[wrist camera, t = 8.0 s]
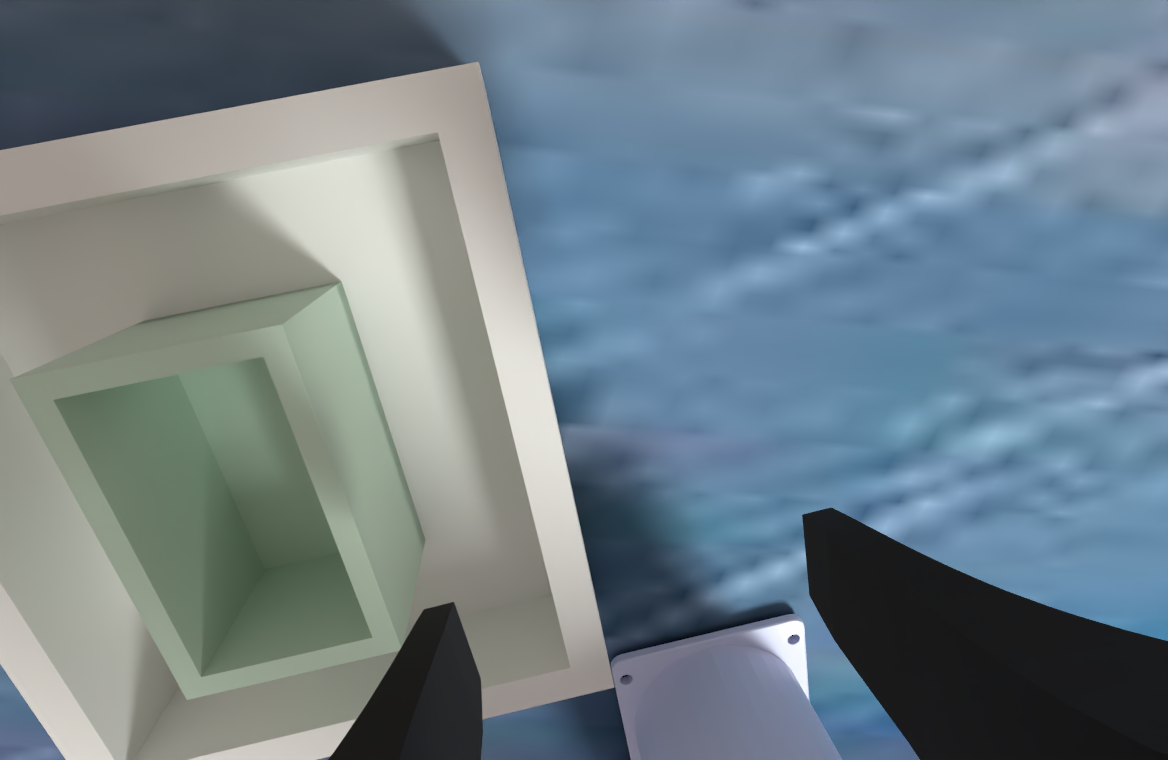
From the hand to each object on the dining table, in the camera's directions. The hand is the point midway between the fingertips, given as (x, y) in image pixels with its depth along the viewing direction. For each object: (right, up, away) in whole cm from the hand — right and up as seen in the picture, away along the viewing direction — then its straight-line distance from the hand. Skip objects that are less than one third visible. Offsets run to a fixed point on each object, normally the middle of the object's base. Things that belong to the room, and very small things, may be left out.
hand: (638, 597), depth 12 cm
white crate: (-10, +3, +8) cm, 13 cm away
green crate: (-10, +2, +7) cm, 12 cm away
